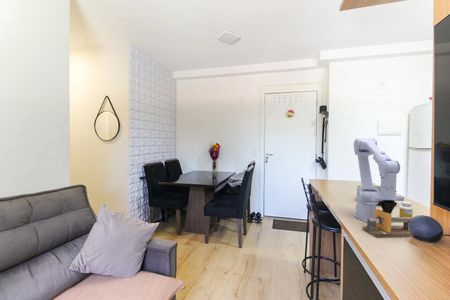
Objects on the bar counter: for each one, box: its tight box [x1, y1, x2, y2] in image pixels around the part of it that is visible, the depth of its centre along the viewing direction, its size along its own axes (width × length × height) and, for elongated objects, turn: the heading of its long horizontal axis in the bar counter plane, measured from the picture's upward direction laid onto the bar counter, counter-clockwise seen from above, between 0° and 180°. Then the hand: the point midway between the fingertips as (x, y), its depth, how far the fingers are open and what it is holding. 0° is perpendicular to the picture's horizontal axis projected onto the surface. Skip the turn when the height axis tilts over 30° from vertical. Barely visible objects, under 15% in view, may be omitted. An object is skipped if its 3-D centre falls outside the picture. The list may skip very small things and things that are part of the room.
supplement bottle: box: [398, 200, 414, 219], centre depth 119 cm, size 5×5×10 cm
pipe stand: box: [361, 216, 413, 239], centre depth 103 cm, size 9×20×7 cm, turn 94°
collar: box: [374, 208, 392, 232], centre depth 102 cm, size 8×2×8 cm, turn 4°
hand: (386, 216), depth 102 cm, fingers closed
